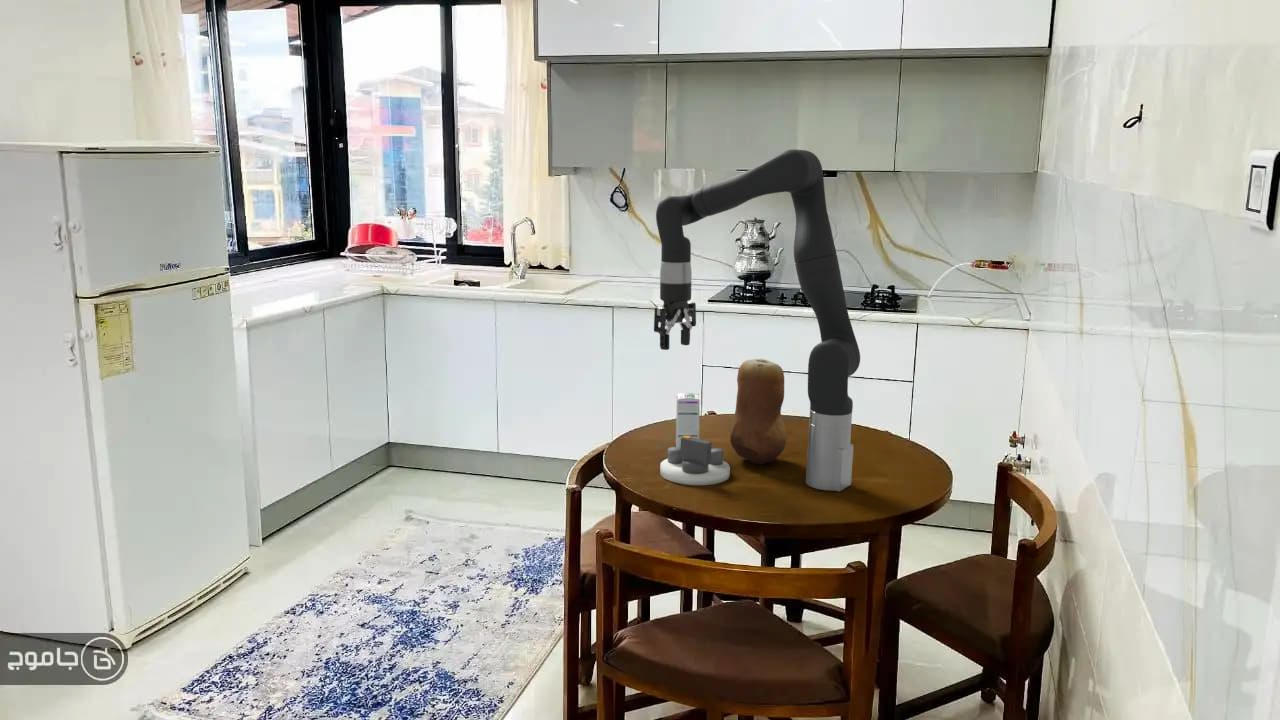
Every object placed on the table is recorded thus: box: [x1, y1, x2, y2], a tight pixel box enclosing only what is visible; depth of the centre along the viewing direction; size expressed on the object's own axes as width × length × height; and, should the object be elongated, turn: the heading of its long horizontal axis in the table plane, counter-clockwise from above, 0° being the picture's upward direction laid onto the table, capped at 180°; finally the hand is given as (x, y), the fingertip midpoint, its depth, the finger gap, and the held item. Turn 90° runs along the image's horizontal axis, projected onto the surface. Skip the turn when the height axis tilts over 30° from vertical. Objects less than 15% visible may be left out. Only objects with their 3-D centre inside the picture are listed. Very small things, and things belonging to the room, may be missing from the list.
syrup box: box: [675, 392, 701, 448], centre depth 234 cm, size 6×6×14 cm
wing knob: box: [680, 436, 712, 474], centre depth 214 cm, size 7×6×7 cm
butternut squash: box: [729, 358, 787, 465], centre depth 227 cm, size 14×13×25 cm
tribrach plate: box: [659, 446, 731, 486], centre depth 219 cm, size 16×16×5 cm
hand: (675, 347), depth 230 cm, fingers open, 8 cm apart
